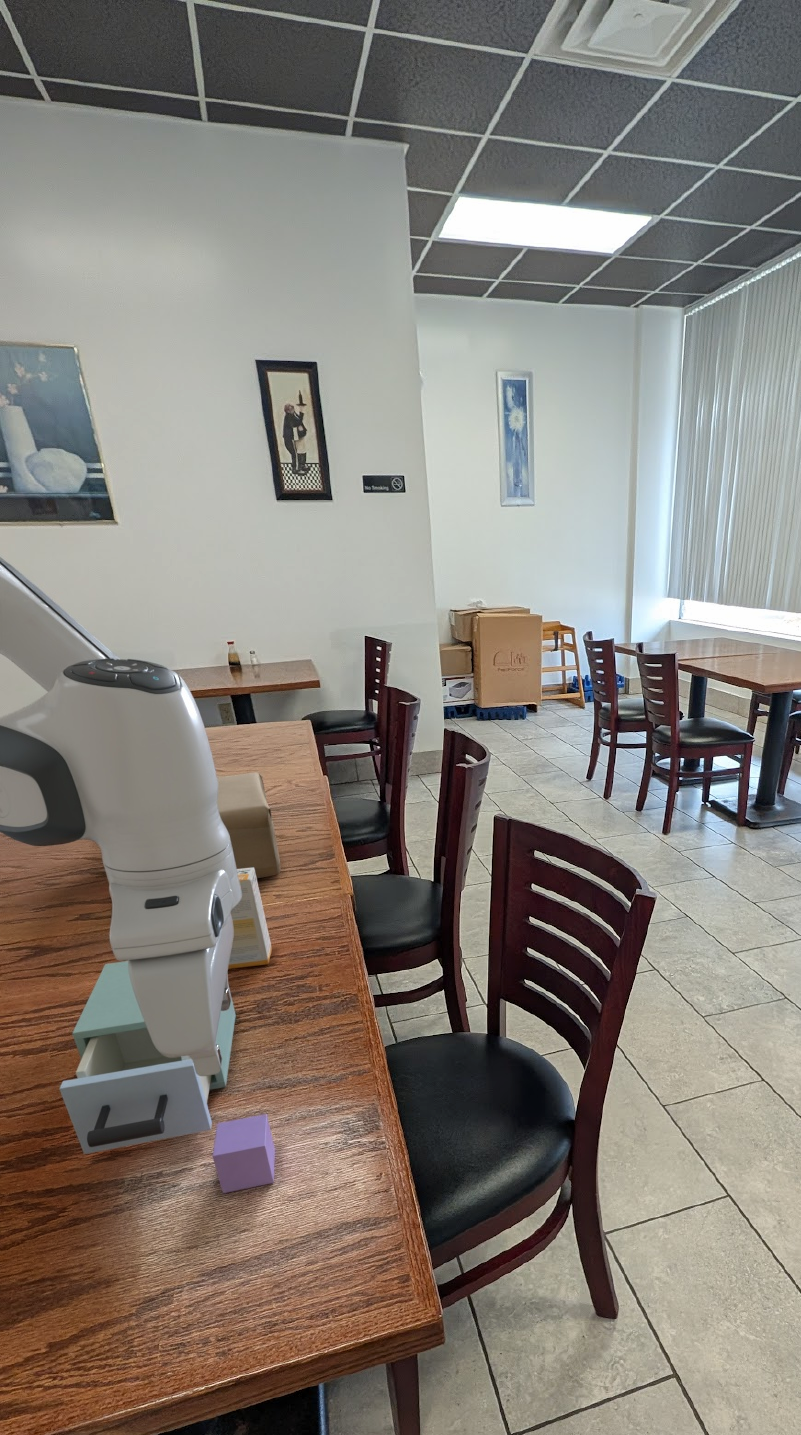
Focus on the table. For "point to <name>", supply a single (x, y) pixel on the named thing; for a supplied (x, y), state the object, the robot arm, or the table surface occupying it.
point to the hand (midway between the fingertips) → (216, 1036)
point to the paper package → (249, 823)
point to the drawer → (134, 1093)
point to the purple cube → (244, 1153)
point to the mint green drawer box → (136, 1016)
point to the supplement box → (249, 925)
